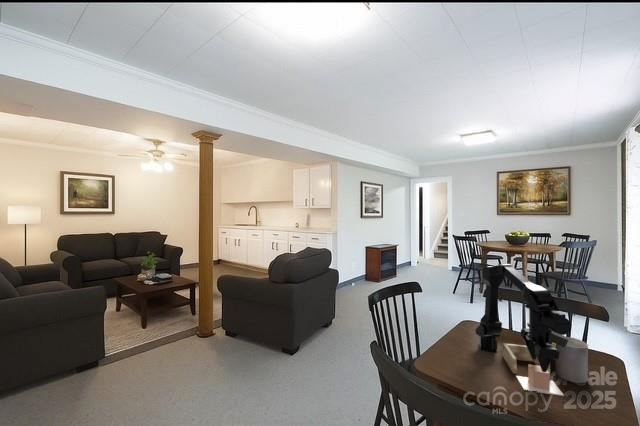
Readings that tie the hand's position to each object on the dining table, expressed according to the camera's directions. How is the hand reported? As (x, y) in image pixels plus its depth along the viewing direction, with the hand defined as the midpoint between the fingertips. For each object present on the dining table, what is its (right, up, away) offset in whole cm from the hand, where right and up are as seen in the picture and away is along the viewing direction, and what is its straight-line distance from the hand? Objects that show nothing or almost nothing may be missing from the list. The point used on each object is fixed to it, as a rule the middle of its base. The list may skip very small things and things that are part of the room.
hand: (538, 365), depth 109 cm
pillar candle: (+17, -8, +6) cm, 20 cm away
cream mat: (0, -8, 0) cm, 8 cm away
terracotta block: (0, -7, 0) cm, 7 cm away
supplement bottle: (+22, -5, +21) cm, 30 cm away
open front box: (+4, -8, +13) cm, 15 cm away
